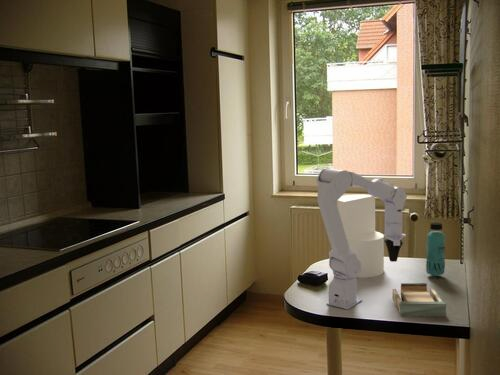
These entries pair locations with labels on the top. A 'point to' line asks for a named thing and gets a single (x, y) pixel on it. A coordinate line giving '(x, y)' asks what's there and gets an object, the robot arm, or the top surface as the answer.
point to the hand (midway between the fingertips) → (393, 260)
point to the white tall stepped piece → (362, 232)
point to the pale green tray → (420, 306)
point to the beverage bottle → (435, 250)
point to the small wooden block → (415, 292)
